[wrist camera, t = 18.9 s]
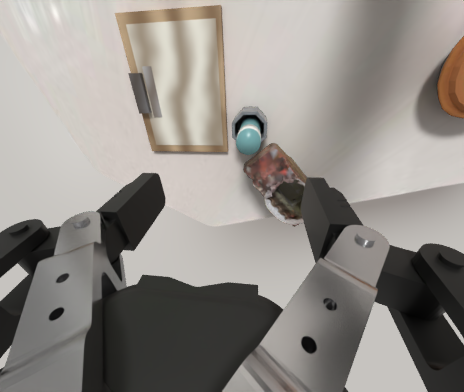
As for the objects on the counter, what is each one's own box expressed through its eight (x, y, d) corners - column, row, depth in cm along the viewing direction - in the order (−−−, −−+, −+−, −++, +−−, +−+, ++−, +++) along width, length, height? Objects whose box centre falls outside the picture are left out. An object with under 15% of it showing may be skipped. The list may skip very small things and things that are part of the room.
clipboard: (221, 6, 31) (219, 3, 29) (227, 150, 44) (226, 153, 43) (117, 14, 33) (110, 11, 31) (153, 149, 46) (150, 152, 45)
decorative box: (274, 215, 53) (277, 242, 45) (231, 159, 45) (225, 179, 37) (321, 194, 48) (334, 220, 40) (281, 126, 40) (287, 140, 32)
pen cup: (266, 106, 38) (268, 111, 34) (264, 138, 42) (265, 147, 37) (234, 106, 39) (231, 111, 34) (235, 138, 42) (232, 146, 38)
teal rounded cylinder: (261, 114, 38) (261, 130, 29) (260, 133, 41) (260, 155, 31) (241, 114, 39) (235, 130, 29) (241, 133, 41) (236, 154, 31)
